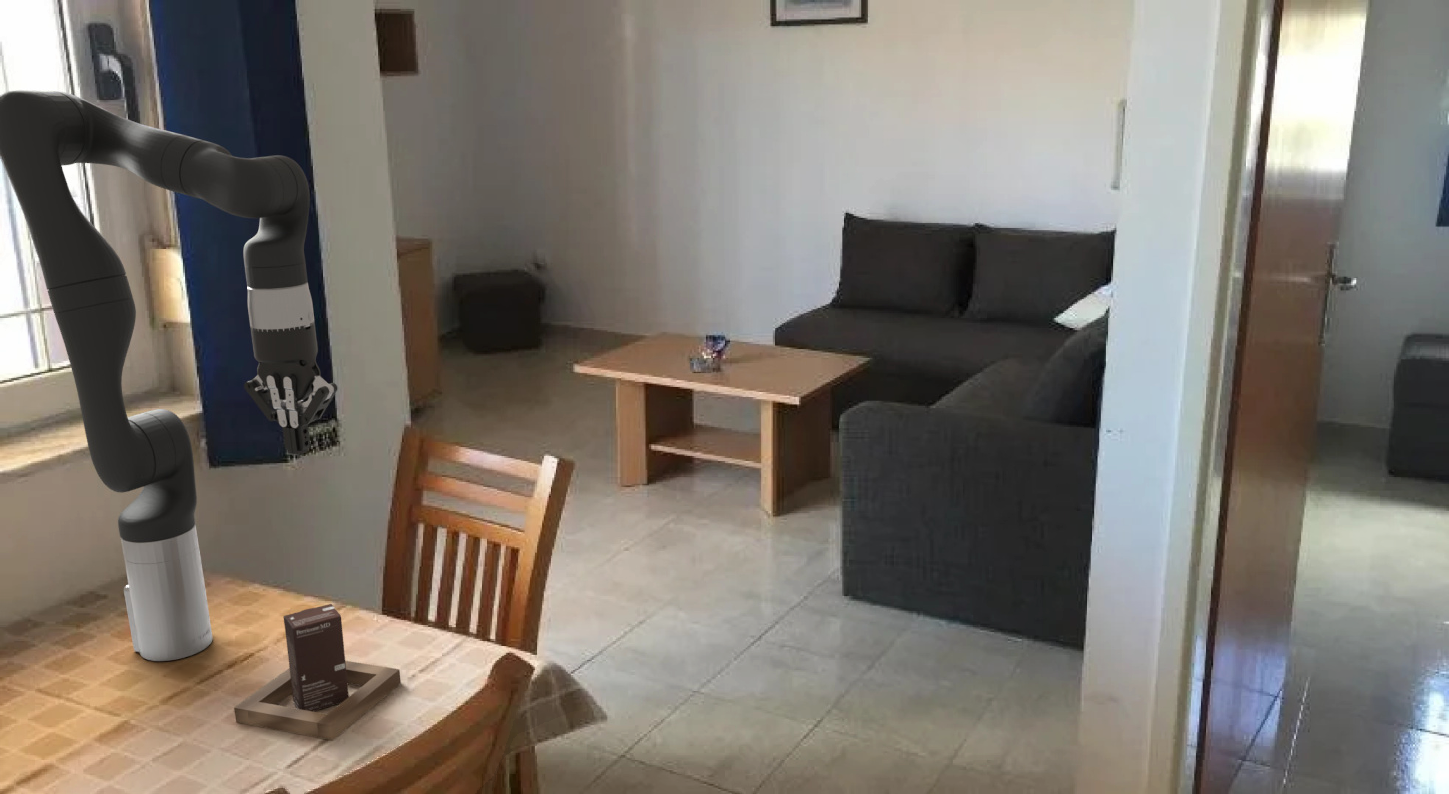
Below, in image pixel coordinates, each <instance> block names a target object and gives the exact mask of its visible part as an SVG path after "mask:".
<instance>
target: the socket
mask: <svg viewBox="0 0 1449 794" xmlns="http://www.w3.org/2000/svg"><path fill="white" fill-rule="evenodd" d="M345 663H346V675H347V685H355V686H361V687H360V688H358V689H357V690H356V691H354V692H353V693H352V694H351V695H350V696H349V697H348V698H347V699H346V700H345V701H343V702H342V703H339V704H337V705H336V706H335V708H333V709H332V710H331V711H329V712H328V713H322V712H317V711H307V710H302V709H298V708H297V707H296V708H295V707H290V706H283V705H279V703H281V702H282V701H284V700H285V699H286V698H287V697H289V696H290V695H291V694H292V695H293V692H292V683H291V675H290V667H289V668H287V669H286V670H284V671H283V672H281V674H279V675H277V676H276V677H275V678H273V679H272V680H270V681H269V682H268V683H266V684H265V685H263V686H262V687H261V688H259V689H258V690H256V691H255V692H254V693H252V694H251V695H250V696H247V697H246V698H245V699H244V700H243V701H241V702H239V703H238V704H237V705H235V706H234V707H233V712H234V717H235V723H238V724H243V725H249V726H255V727H259V728H266V729H270V730H276V731H281V732H287V733H291V734H296V735H297V734H298V735H302V736H307V737H313V738H319V739H323V740H329V741H334V740H335V739H337V738H338V737H339V736H340V735H341V734H343V733H344V732H345V731H346V730H347V729H348V728H350V727H351V726H352V725H354V723H356V722H357V721H358V720H359V719H360V718H361V717H363V716H364V715H365V714H366V713H367V712H369V711H370V710H371V709H372V708H374V707H375V706H376V705H377V704H378V703H379V702H381V701H382V700H383V699H385V697H386V696H387V695H389V694H390V693H391V692H392V691H394V690H395V689H396V688H397V687H399V686H400V685H401V684H402V682H401V673H400V668H395V667H394V668H392V667H386V666H380V665H374V664H368V663H361V662H356V661H350V660H345Z"/></svg>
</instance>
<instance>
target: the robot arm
mask: <svg viewBox="0 0 1449 794" xmlns="http://www.w3.org/2000/svg"><path fill="white" fill-rule="evenodd" d="M0 161H1V163H2V165H3V168H4V170H5V173H6V175H7V177H8V180H9V182H10V185H11V187H12V189H13V192H14V193H15V196H16V200H17V201H18V203H19V206H20V208H21V211H22V213H23V218H24V219H25V222H26V225H27V228H28V232H29V234H30V237H31V241H32V242H33V243H32V244H33V246H34V250H35V252H36V255H37V257H38V262H39V264H40V268H41V271H42V275H43V280H44V284H45V287H46V290H47V294H48V297H49V301H50V304H51V307H52V311H53V314H54V317H55V320H56V322H57V325H58V328H59V332H60V334H61V337H62V340H63V345H64V347H65V351H66V354H67V357H68V360H69V364H70V368H71V371H72V375H73V379H74V383H75V387H76V391H77V396H78V403H79V406H80V412H81V416H82V422H83V423H82V424H83V428H84V433H85V438H86V443H87V447H88V450H89V455H90V458H91V461H92V464H93V467H94V469H95V471H96V473H97V475H98V477H99V479H100V481H102V483H103V484H104V485H105V486H106V487H107V488H108V489H110V490H111V491H113V492H116V493H120V494H121V493H128V492H130V491H134V490H138V489H140V488H142V490H141V492H140V493H139V494H138V496H137V497H136V498H135V499H134V500H133V501H132V502H131V503H130V504H129V505H127V507H126V508H124V509H123V510H122V511H121V513H120V514H119V516H118V519H117V527H118V533H119V537H120V542H121V547H122V554H123V559H124V565H125V571H126V577H127V583H128V584H126V585H125V586H124V587H123V594H124V599H125V606H126V613H127V616H128V622H129V623H128V624H129V630H130V634H131V635H130V636H131V640H132V647H133V652H137V653H139V654H140V656H141V657H142V658H143V659H146V660H148V661H153V662H166V661H167V662H168V661H175V660H180V659H184V658H186V657H191V656H194V655H195V654H198V653H200V652H202V651H203V650H206V649H207V648H208V647H209V645H211V644H212V641H213V633H212V626H211V618H210V611H209V603H208V598H207V591H206V586H205V585H206V583H205V578H204V577H205V576H204V571H203V566H202V557H201V553H200V546H199V539H198V532H197V527H196V526H197V525H196V519H195V512H196V508H197V503H198V498H197V487H196V478H195V476H196V475H195V466H194V465H195V464H194V454H193V448H192V446H193V445H192V442H191V441H192V440H191V439H190V435H189V433H188V430H187V428H186V425H185V423H184V422H183V421H182V419H181V418H180V417H179V416H178V415H177V414H176V413H174V412H173V411H170V410H169V409H163V408H159V409H152V410H148V411H145V412H142V413H138V414H135V415H131V416H128V415H127V409H126V406H125V401H124V397H123V396H124V395H123V390H122V389H123V388H122V387H123V386H122V385H123V384H122V383H123V382H122V377H123V370H124V367H125V366H124V365H125V361H126V359H127V358H126V357H127V354H128V351H129V348H130V346H131V345H130V344H131V342H132V338H133V333H134V330H135V325H136V319H137V318H136V316H137V309H136V304H135V299H134V297H133V293H132V290H131V286H130V283H129V280H128V276H127V272H126V270H125V267H124V265H123V262H122V260H121V258H120V257H119V255H118V254H117V252H116V251H115V249H114V248H113V247H112V245H111V244H110V243H109V242H108V240H107V239H106V238H105V237H104V236H103V234H101V232H100V231H99V230H98V229H97V228H96V227H95V226H94V225H93V224H92V222H91V221H90V220H89V219H88V218H87V216H85V214H84V213H83V211H82V210H81V209H80V207H79V206H78V204H77V202H76V201H75V199H74V197H73V194H72V193H71V190H70V187H69V184H68V181H67V178H66V176H65V173H64V170H63V166H70V165H75V164H94V165H108V166H112V167H117V168H120V169H125V170H126V171H129V172H131V173H133V174H134V175H136V176H138V177H139V178H141V180H144V181H145V182H147V183H149V184H151V185H153V186H156V187H159V188H161V189H164V190H167V191H171V192H174V193H176V194H177V193H178V194H182V195H185V196H187V197H188V196H189V197H192V198H196V199H201V200H203V201H205V202H207V203H208V204H210V205H212V207H213V206H214V207H215V208H217V209H219V210H221V211H223V212H224V213H227V214H230V215H232V216H236V217H241V218H245V219H259V224H258V225H259V226H258V231H257V233H256V234H255V235H254V236H253V237H252V238H250V239H248V240H247V241H246V242H245V244H244V246H243V263H244V273H245V279H246V285H247V310H248V318H249V319H248V321H249V326H250V335H251V341H252V349H253V356H254V359H255V360H256V361H257V362H258V365H257V368H256V372H257V373H256V374H257V375H256V376H255V377H254V378H252V379H251V380H248V381H246V382H244V384H243V388H244V390H245V391H246V392H247V394H248V395H249V396H250V397H251V398H252V400H253V402H254V403H255V404H256V405H257V407H258V408H259V409H260V411H261V412H262V413H263V415H264V417H266V418H267V420H268V421H270V422H273V421H274V422H276V423H278V424H279V426H281V427H282V434H283V435H282V436H283V441H284V447H285V450H287V454H288V455H292V456H302V455H303V454H305V453H307V452H308V451H309V449H310V448H311V447H310V446H311V438H310V432H309V431H310V430H309V424H310V423H312V422H315V421H319V420H320V419H321V418H322V416H323V415H324V413H325V411H326V410H327V408H328V406H329V405H330V403H331V402H332V400H333V398H334V397H335V395H336V393H337V392H338V385H337V384H336V383H334V382H331V383H328V382H327V381H326V380H325V379H324V378H323V377H322V376H321V369H320V367H319V365H318V363H317V360H316V359H317V355H318V351H319V349H318V340H317V332H316V323H315V316H314V305H313V299H312V295H311V291H310V289H309V288H310V287H309V283H308V273H307V263H306V257H305V251H304V249H305V243H306V242H305V241H306V236H307V230H308V223H309V214H310V213H309V212H310V203H311V201H310V200H311V197H310V196H311V195H310V186H309V182H308V178H307V176H306V174H305V172H304V170H303V169H302V167H301V166H300V165H299V164H298V163H297V162H296V160H294V159H292V158H291V157H288V156H285V155H278V154H277V155H268V156H259V157H252V158H249V157H248V158H247V157H246V158H245V157H238V156H233V155H232V153H230V151H229V150H228V149H226V148H225V147H223V146H221V145H219V144H217V143H214V142H210V141H207V140H204V139H201V138H200V139H199V138H196V137H192V136H188V135H186V134H181V133H177V132H173V131H169V130H165V129H161V128H160V129H159V128H156V127H152V126H149V125H144V124H142V123H138V122H137V121H136V122H135V121H132V120H131V119H128V118H125V117H123V116H120V115H118V114H116V113H113V112H112V111H109V110H106V109H105V108H102V107H101V106H99V105H97V104H94V103H93V102H90V101H89V100H86V99H84V98H81V97H80V96H77V95H74V94H71V93H68V92H64V91H55V90H54V91H53V90H28V89H27V90H21V89H19V90H10V91H6V92H3V93H2V94H0Z"/></svg>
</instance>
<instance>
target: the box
mask: <svg viewBox="0 0 1449 794" xmlns="http://www.w3.org/2000/svg"><path fill="white" fill-rule="evenodd" d="M283 624H284V631H285V639H286V640H285V641H286V648H287V658H288V665H289V668H290V675H291V683H292V692H293V693H292V699H293V702H294V703H293V704H294V705H295V706H296V709H302V710H307V711H313V712H317V711H319V710H323V709H325V708H329V707H332V706H335V705H340V704H341V703H342V702H343V701H345V700H346V699H347V698H348V697H349V687H348V685H349V684H348V683H347V675H346V663H345V661H346V656H345V655H346V654H345V644H344V636H343V635H344V634H343V623H342V616H341V613H339V612H338V610H337V609H336V608H335V606H334V605H333V604H332V603H328V604H324V605H320V606H317V607H309V608H306V609H304V610H301V611H298V612H297V611H296V612H293V613H290V614H286V615H284V616H283Z"/></svg>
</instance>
